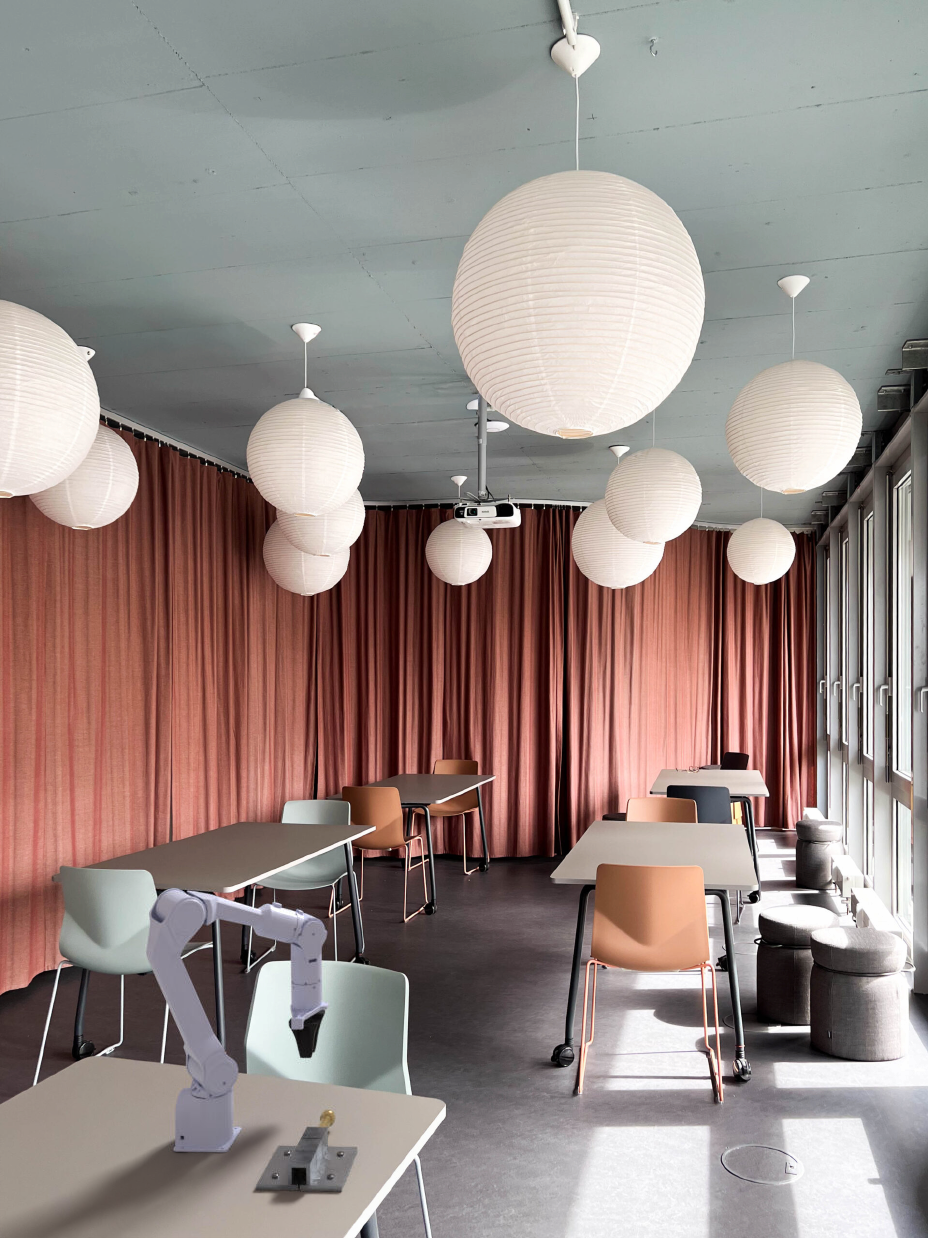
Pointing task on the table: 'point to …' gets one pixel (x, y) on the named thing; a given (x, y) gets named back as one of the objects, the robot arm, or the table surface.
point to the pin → (327, 1119)
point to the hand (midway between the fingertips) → (307, 1054)
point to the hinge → (308, 1164)
